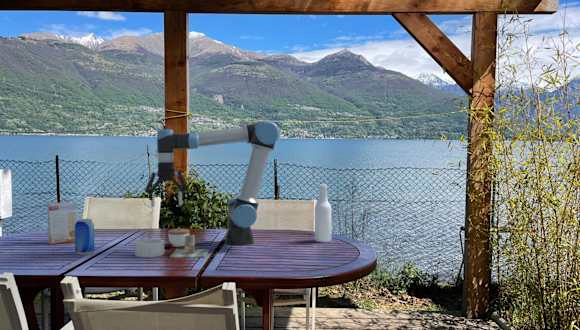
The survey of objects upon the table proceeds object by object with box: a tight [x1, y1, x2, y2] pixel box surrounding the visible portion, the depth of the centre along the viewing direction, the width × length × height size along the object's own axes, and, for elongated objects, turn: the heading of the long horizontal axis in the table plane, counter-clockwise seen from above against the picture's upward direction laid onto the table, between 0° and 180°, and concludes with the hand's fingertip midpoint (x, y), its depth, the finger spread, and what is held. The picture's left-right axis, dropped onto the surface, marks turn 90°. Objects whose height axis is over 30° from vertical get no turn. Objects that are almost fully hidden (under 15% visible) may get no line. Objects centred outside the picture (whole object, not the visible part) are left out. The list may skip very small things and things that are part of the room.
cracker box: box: [46, 201, 79, 245], centre depth 281 cm, size 14×6×21 cm, turn 123°
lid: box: [168, 234, 210, 259], centre depth 253 cm, size 16×16×9 cm
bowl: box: [134, 238, 165, 258], centre depth 253 cm, size 13×13×6 cm
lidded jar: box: [167, 226, 191, 248], centre depth 273 cm, size 11×11×9 cm
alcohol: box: [314, 183, 332, 243], centre depth 284 cm, size 9×9×30 cm
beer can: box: [74, 218, 95, 256], centre depth 254 cm, size 8×8×16 cm
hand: (166, 205), depth 259 cm, fingers open, 13 cm apart
